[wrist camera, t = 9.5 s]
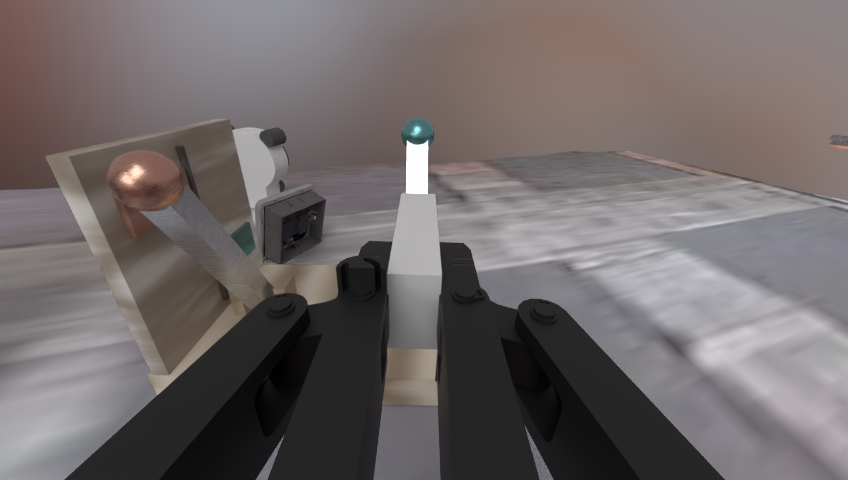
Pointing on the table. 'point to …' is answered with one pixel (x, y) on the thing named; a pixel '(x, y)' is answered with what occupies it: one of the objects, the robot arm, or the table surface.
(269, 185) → the panda figurine
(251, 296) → the terracotta lever
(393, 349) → the switch unit
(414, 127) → the teal lever
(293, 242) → the electrical switch
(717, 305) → the table surface
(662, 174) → the table surface
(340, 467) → the robot arm
